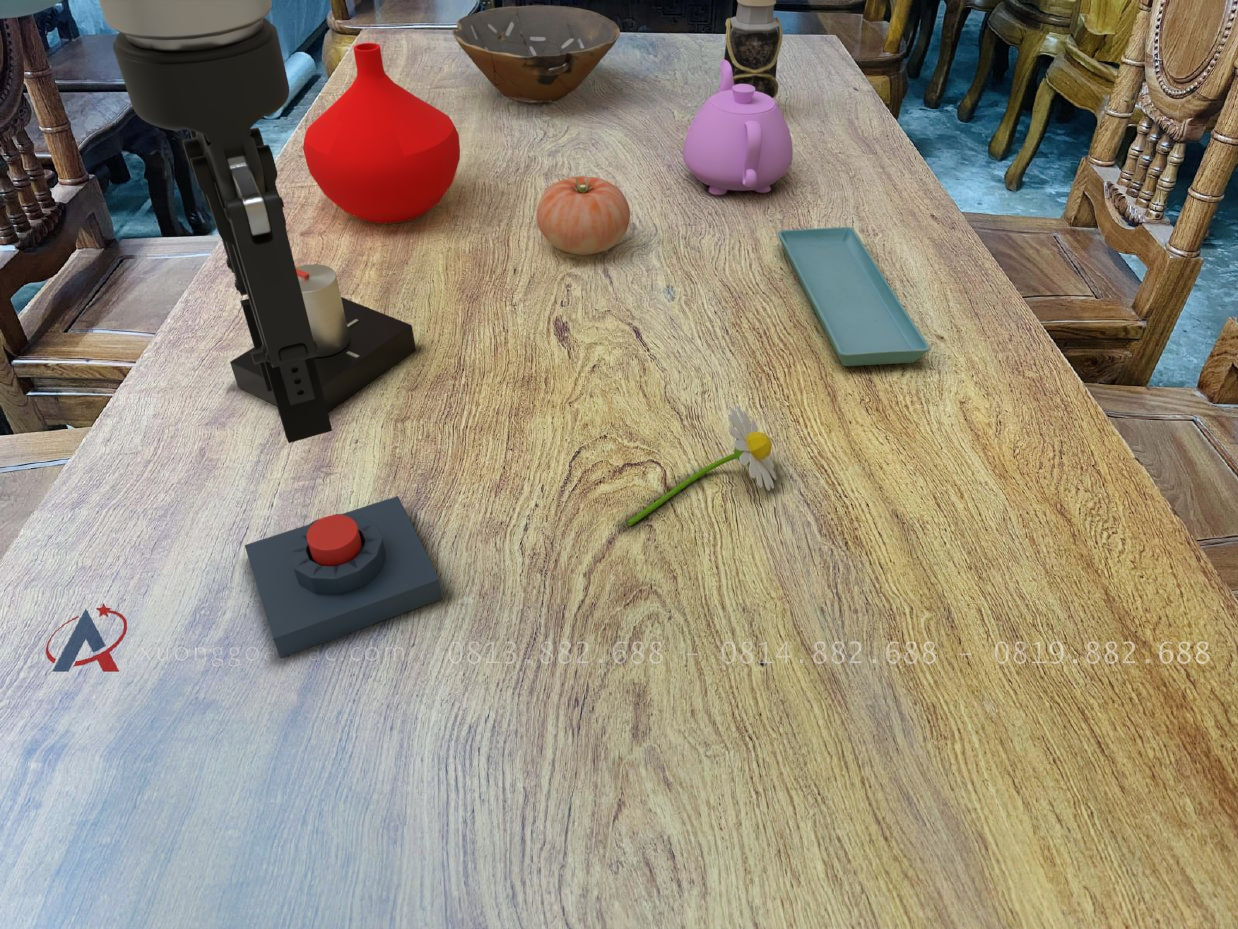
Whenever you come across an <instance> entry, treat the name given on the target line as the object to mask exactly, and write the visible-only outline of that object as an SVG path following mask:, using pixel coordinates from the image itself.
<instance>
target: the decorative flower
mask: <svg viewBox="0 0 1238 929" xmlns="http://www.w3.org/2000/svg"><path fill="white" fill-rule="evenodd" d="M735 409H736V410H735ZM735 409H733V407H730V408H729V412H730V414H728V415H727V417H728V420H729V421H730V423H731V424H732V425H733V426H734V427H735V428H734V427H733V426H728V428H727V431H728V433H729V435H731V436H732V437H733V438H734V439H735V440H734V441H733V443H732V444H733V448H734V449H733V453H731V454H729V455H727V456H725V457H722V458H720V459H718V460H716V461H714V462H713V463H711V464H708V465H707V466H705V467H703V468H701V469H700V470H699V471H697V472H695V473H694V474H692V475H691V476H690V477H688V478H686V479H685V480H683V481H682V482H681V483H679V484H677V486H675V487H674V488H672V489H671V490H670V491H668V492H667V493H666V494H663V496H662V497H660V498H659V499H657V500H656V501H655V502H653V503H652V504H650V505H649V506H647V507H646V508H645V509H643V510H642V511H640V512H638V514H636V515H635V516H633V517H632V518H630V519H629V520H628V521H627V522H626V524H627V525H628V526H629V527H632V526H633V525H634V524H636V523H638V522H639V521H640V520H642V519H643V518H644V517H646V516H647V515H649V514H650V513H652V512H653V511H655V510H656V509H657V508H658V507H660V506H661V505H663V504H664V503H665V502H667V501H668V500H669V499H671V498H673V497H674V496H675V495H676V494H678V493H679V492H681V491H682V490H683V489H684V488H686V487H687V486H689V485H690V484H692V483H693V482H695V481H696V480H697V479H699V478H701V477H702V476H704V475H705V474H707V473H709V472H711V471H712V470H714V469H716V468H717V467H720V466H722V465H724V464H727V463H729V462H730V461H733V460H736V459H737V460H738V461H739V463H740V464H741V465H742V467H745V466H749V467H748V474H749V476H750V478H751V479H753V480H754V479H755V480H756V484H757V486H758V488H760V489H761V488H763V484H764V486H765V489H766V490H767V491H768V492H770V491H771V489H774V488H775V485H774V484H775V483H774V481H777V475H776V472H775V470H774V469H775V465H774V462H773V460H772V459H771V458H770V457H769V456H770V455H771V454H772V445H773V443H772V440H771V438H770V436H768V435H767V434H766V433H765V432H760V431H759V428H758V425H757V422H756V420H754V419H751V421H750V417H749V415H748V414H747V412H746V411H745V410H742V409H741V408H740V407H739V405H736V406H735Z"/></svg>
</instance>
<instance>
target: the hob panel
mask: <svg viewBox="0 0 1238 929" xmlns="http://www.w3.org/2000/svg"><path fill="white" fill-rule="evenodd" d="M341 299H342V304H343V309H344V313H345V318H346V323H347V327H348V332H349V337H350V341H349V344H348V345H347V346H346V347H345V348H344V349H343V350H342V351H340V352H338V353H336V354H333V355H330V356H325V357H314V359H315V363H316V367H317V371H318V375H319V379H320V383H321V387H322V391H323V395H324V399H325V403H326V407H327V412H328V413H329V412H331V411H332V410H333V409H335V408H336V407H338V406H339V405H341V404H342V403H343V402H345V401H346V400H348V399H349V398H351V396H353V395H354V394H356V393H357V392H359V391H361V390H362V389H363V388H364V387H366V386H367V385H369V384H370V383H371V382H373V381H375V380H376V379H378V378H379V377H380V376H382V374H384V373H386V372H388V371H389V370H390V369H391V368H393V367H394V366H396V365H397V364H398V363H400V362H401V361H403V360H404V359H405V358H406V357H408V356H410V355H411V354H413V353H414V352H415V351H416V350H417V348H416V342H415V336H414V330H413V329H414V328H413V325H412V324H410V323H408V322H405V321H402V320H401V319H397V318H395V317H393V316H390V315H388V314H385V313H383V312H380V311H378V310H376V309H372V308H370V307H367V306H365V305H363V304H361V303H358V302H356V301H352V300H350V299H347V298H346V297H342V296H341ZM252 350H255V348H254V347H252V348H250V349H248V350H247V351H245V352H243V353H242V354H240V355H238V356H237V357H235V358H234V359H231V360H230V361H229V363H230V366H231V370H232V373H233V376H234V379H235V383H236V385H237V388H238V389H240V390H243V391H245V392H247V393H249V394H251V395H253V396H255V397H258V398H259V399H262V400H264V401H266V402H268V403H270V404H272V405H275V406H276V407H277V404H276V401H275V398H274V394H273V391H269V392H268V390H267V388H266V385H265V382H264V379H263V375H262V372H261V368H260V365H259V363H258V364H254V361H253V358H252V355H251V352H250V351H252Z"/></svg>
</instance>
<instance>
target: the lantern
mask: <svg viewBox="0 0 1238 929" xmlns="http://www.w3.org/2000/svg"><path fill="white" fill-rule="evenodd" d="M736 1H737V8H736V15H735V16H733V17H728V18H726V20H725V25H724V26H725V28H726V30H725V47H724V58H723V60H727V61H728V62H729V63H730V65H731V68H732V73H733V80H734V85H737V84H749V85H752V86H754V87H755V91H757V92H761V93H764V94H766V95H768V96H770V97H771V98H773V99H774V98H776V96H777V95H778V92H779V82H778V80H777V68H778V57H779V54H780V52H781V47H782V43H783V28H782V24H781V20H780V18H779V17H777V16H776V17H774V15H775V14H774V12H775V11H774V10H775V5H776V4H777V0H736Z"/></svg>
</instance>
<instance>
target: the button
mask: <svg viewBox="0 0 1238 929" xmlns="http://www.w3.org/2000/svg"><path fill="white" fill-rule="evenodd" d="M317 520H318V521H316V520H315V521H316V522H315V523H314V524H312V526H311V527H310V528H309V530H308V532H307V541H308V545H309V548H310V551H311V554H312V557H313V559H314V560H315V561H316V562H317V563H319V564H321V565H324V566H339V565H342V564H345V563H348V562H350V561H351V560H353V559H354V558H355V557H356V556H357V555H358V554H359V552H360V550H361V546H362V543H361V539H360V535H359V531H358V527H357V524H356V522H355V521H354V520H353V519H351V518H350V517H347V516H344V515H334V514H331V515H326V516H324V517H322V518H319V519H317Z"/></svg>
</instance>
